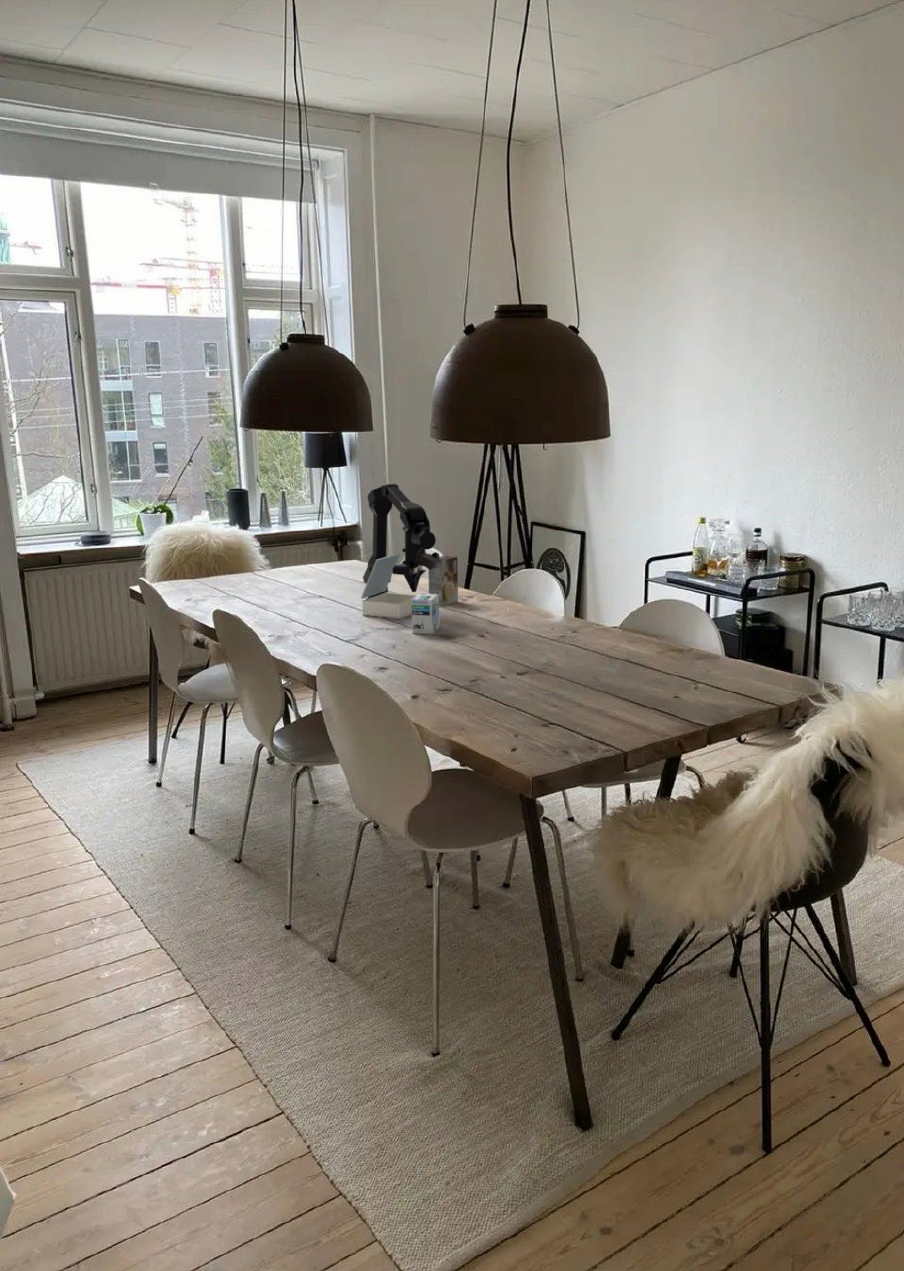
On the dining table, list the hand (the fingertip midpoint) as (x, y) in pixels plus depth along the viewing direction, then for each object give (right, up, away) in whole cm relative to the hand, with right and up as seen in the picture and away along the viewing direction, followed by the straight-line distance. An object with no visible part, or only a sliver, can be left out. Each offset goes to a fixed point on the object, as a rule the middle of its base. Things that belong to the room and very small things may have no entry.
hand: (414, 591), depth 326 cm
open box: (-7, -7, +5) cm, 11 cm away
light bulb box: (+4, -13, -20) cm, 24 cm away
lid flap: (-11, +5, +4) cm, 13 cm away
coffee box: (+10, -3, +21) cm, 23 cm away
